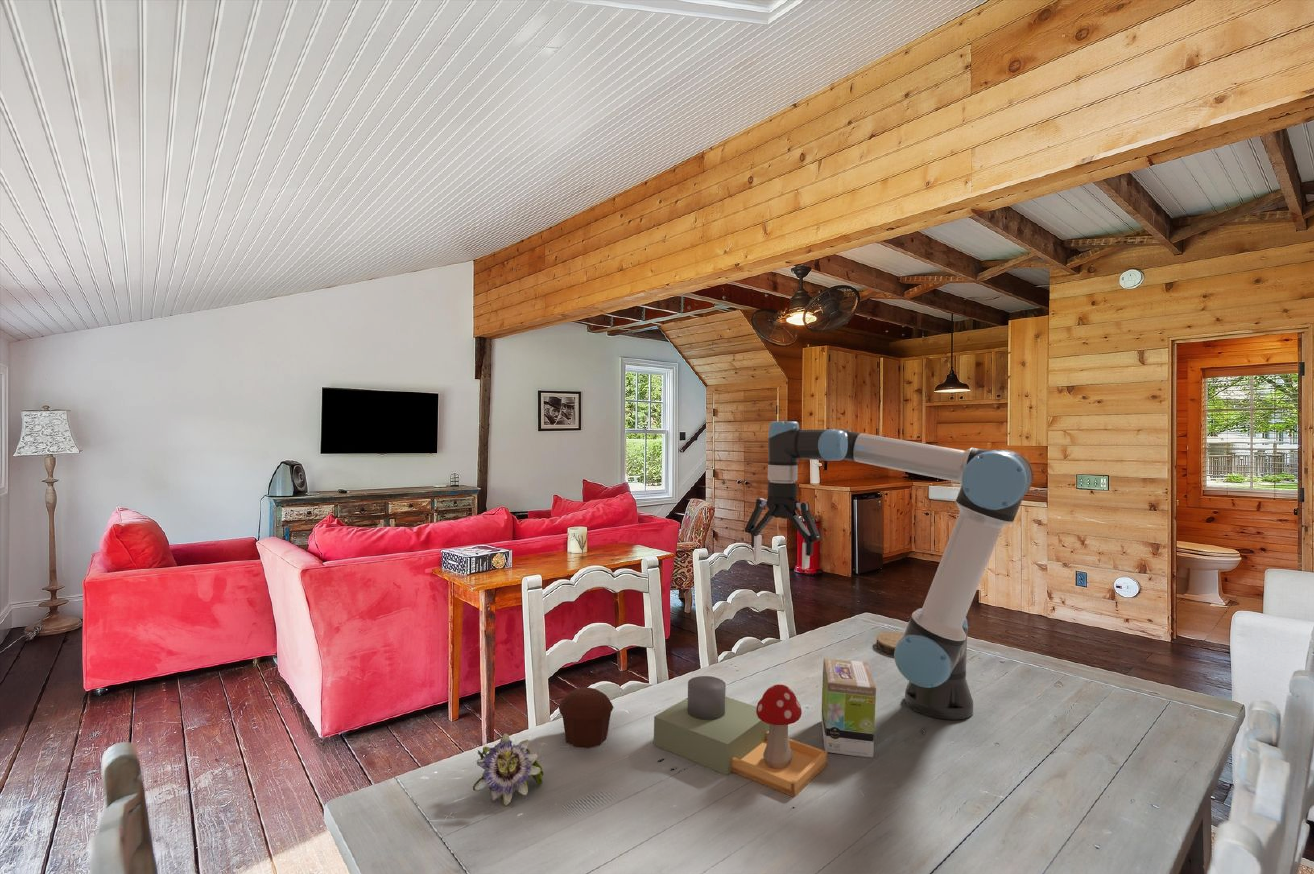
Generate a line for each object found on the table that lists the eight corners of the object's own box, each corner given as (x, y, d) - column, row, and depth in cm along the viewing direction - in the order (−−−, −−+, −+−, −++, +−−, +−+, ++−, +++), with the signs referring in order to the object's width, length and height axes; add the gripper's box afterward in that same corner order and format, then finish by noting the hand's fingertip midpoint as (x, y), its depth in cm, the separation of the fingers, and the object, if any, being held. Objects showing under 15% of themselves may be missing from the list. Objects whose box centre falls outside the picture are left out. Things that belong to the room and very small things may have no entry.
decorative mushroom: (768, 744, 133) (770, 672, 133) (808, 757, 128) (810, 683, 128) (746, 764, 125) (747, 688, 124) (787, 779, 120) (789, 700, 119)
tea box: (875, 759, 130) (877, 686, 129) (824, 753, 132) (825, 682, 132) (866, 725, 145) (868, 660, 144) (820, 720, 147) (822, 656, 146)
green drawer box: (830, 760, 129) (832, 701, 129) (790, 801, 115) (791, 735, 114) (702, 714, 148) (703, 663, 148) (653, 744, 134) (654, 687, 134)
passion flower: (506, 833, 113) (469, 794, 108) (493, 790, 122) (459, 752, 118) (560, 788, 116) (526, 748, 111) (543, 750, 125) (511, 711, 120)
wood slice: (880, 657, 188) (881, 647, 188) (872, 639, 203) (872, 629, 203) (938, 661, 185) (938, 651, 185) (925, 643, 201) (925, 633, 201)
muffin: (622, 732, 139) (623, 686, 139) (596, 756, 129) (597, 707, 129) (575, 720, 144) (576, 676, 144) (547, 743, 134) (548, 695, 134)
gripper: (835, 483, 159) (833, 569, 159) (747, 477, 174) (745, 555, 175) (822, 486, 153) (820, 574, 153) (732, 479, 168) (731, 559, 169)
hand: (780, 564), depth 164 cm, fingers open, 13 cm apart
